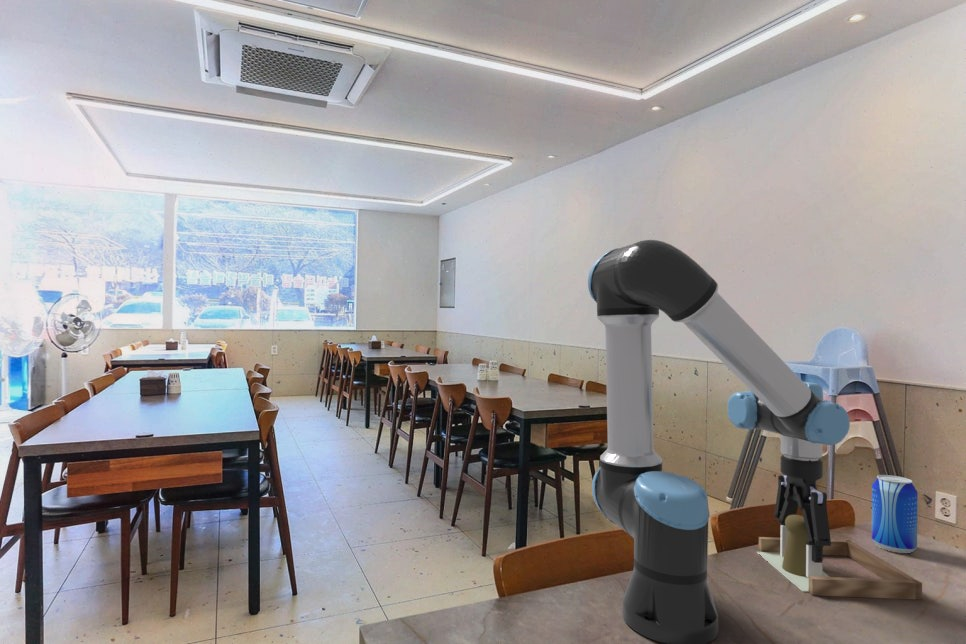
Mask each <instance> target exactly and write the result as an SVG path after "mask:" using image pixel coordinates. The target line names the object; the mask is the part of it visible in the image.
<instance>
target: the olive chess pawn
mask: <svg viewBox="0 0 966 644" xmlns="http://www.w3.org/2000/svg"><path fill="white" fill-rule="evenodd" d="M785 526H786V528H787V530H788V534H787V540H786V546H785V552H784V558H783V565H782V568H783V569H784V570H785V571H787V572H789V573H791V574H794V575H798V576H804V577H807V576H806V542H808V541H809V539H808V534H807V530H806V526H805V522H804V517H803V515H801V514H800V515H799V514H796V515H789V516H787V518H786V520H785Z"/></svg>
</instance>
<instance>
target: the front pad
mask: <svg viewBox="0 0 966 644" xmlns="http://www.w3.org/2000/svg"><path fill="white" fill-rule="evenodd" d="M756 553H757V554H758V555H759V554H760V555H761V556H762V557H761V556H760V555H759V556H760V557H761V558H763V559H764V561H766V562H767V561H768V562H767V563H768V564H770V565H771V566H772V567H773V568H774V569H775V570H777V571H778V572H779V573H780V574H781V575H783V576H784V577H785V578H786V579H787V580H788V581H790V582H791V583H792V584H793V585H794V586H796V587H797V588H798V589H799V590H800V591H801V592H803V593H805V592H806V593H809V578H808V577H804V576H798V575H794V574H791V573H789V572H787V571H785V570H784V569H783V568H782V565H783V558H784V557H781V556H780V552H760V551H756ZM822 577H831V576H830V575H829V574H828V573H826V572H824V571H823V570H822Z"/></svg>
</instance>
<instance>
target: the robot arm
mask: <svg viewBox="0 0 966 644" xmlns="http://www.w3.org/2000/svg"><path fill="white" fill-rule="evenodd" d="M587 288H588V291H589V295H590V297H591V298H592V299H593V301H595V303H596V316H597V317H596V318H597V319H598V320H599V322H601V323H602V324H603V325H604V328H605V366H606V367H605V369H606V370H605V372H606V373H605V375H606V421H607V427H606V428H607V448H606V450H605V451H604V452H603V453H602V454H601V455H599V457H600V458H599V461H600V462H599V465H600V466H599V467H598V470H597V471H596V472H595V473H594V475H593V478H592V482H591V493H592V498H593V501H594V503H595V505H596V507H597V509H599V512H601V513H602V515H603V516H604V517H605V518H606V519H608V520H609V522H610V523H613V524H614V525H616V526H618V527H619V528H620V529H622V530H623V531H624V532H625V533H627V534H628V535H629V536H630V537H632V538H633V540H634V541H633V545H634V546H633V570H632V573H631V575H630V578H629V580H628V584H627V587H626V589H625V592H624V595H623V599H622V609H621V610H622V611H621V612H622V613H621V614H622V618H623V620H624V622H625V624H627V625H628V626H629V628H631V629H632V630H634V631H635V632H637V634H640V635H641V636H643V637H646V638H648V639H650V640H653V641H656V642H659V643H662V644H708V643H710V642H712V641H715V639H716V638H717V637H718V636H719V635H718V634H719V614H718V611H717V608H716V605H715V602H714V599H713V595H712V591H711V589H710V586H709V582H708V557H709V556H708V555H709V553H708V552H709V550H708V549H709V548H708V547H709V519H710V509H709V508H710V507H709V498H708V494H707V492H706V490H705V488H704V487H703V486H702V485H701V484H700V483H698V482H697V481H696V480H694V479H691V477H687V476H684V475H678V474H677V473H674V472H668V471H663V458H662V457H661V456H660V455H659V454H658V453H657V452H656V451H655V449H654V415H653V414H654V408H653V405H654V404H653V403H654V402H653V401H654V400H653V368H652V367H653V362H652V361H653V359H652V356H653V355H652V353H653V352H652V324H653V323H654V322H655V321H656V320H657V319H658V318H659V317H660V311H661V312H663V313H664V314H665V315H666V316H668V318H669V319H670V320H671V321H672V322H674V323H683V324H684V325H685V327H687V328H688V329H689V330H690V331H691V332H692V333H693V334H694V335H695V336H696V337H697V338H698V340H700V341H701V342H702V343H703V344H704V345H705V346H706V347H707V348H708V349H709V350H710V352H712V353H713V355H715V356H716V357H717V358H718V359H719V360H720V361H721V362H722V363H723V364H724V365H725V366H726V368H728V370H730V371H731V372H732V373H733V375H735V377H736V378H737V379H739V381H741V382H742V383H743V384H744V385H745V387H747V389H749V390H746V391H736V392H734V393H733V394H731V395H730V397H729V398H728V401H727V410H726V411H727V412H726V413H727V416H728V419H729V421H730V423H731V424H732V425H733V426H735V427H736V428H737V429H741V430H749V431H750V430H751V431H752V430H762V431H766V432H770V433H775V434H779V435H780V453H781V454H782V455H781V456H780V468H779V469H780V473H781V474H782V475H778V476H777V481H778V482H777V485H778V487H777V494H776V500H775V507H774V513H773V515H774V518H775V519H778V524H779V525H780V537H779V538H780V556H781V557H784V552H785V546H786V540H787V534H788V530H787V528H786V526H785V520H786V518H787V516H789V515H797V512H798V509H800V510H801V511H802V516H803V517H804V522H805V526H806V530H807V534H808V539H809V541H808V542H806V576H807V577H808V578H809V576H817V577H822V571H823V558H824V557H823V546H831V540H832V539H831V533H830V525H829V523H830V522H829V516H828V508H827V502H828V501H827V499H828V495H827V492H823V491H821V492H820V491H819V490H818V487H817V480H820V479H822V478H823V477H824V476H823V475H824V473H823V471H824V470H823V468H824V466H823V460H822V459H821V458H822V457H823V446H833V445H837V444H840V443H841V442H842V441H843V440H844V439H846V436H847V435H848V433H849V431H850V426H851V425H850V424H851V423H850V422H851V421H850V417H849V414H848V412H847V410H846V409H845V408H844V407H843V406H842V405H841V404H839V403H835V402H832V401H830V400H827V399H826V400H825V399H824V392H823V391H824V390H823V386H822V385H820V383H816V382H811V381H804V380H802V379H801V378H800V377H799V376H798V375H797V373H796V372H794V371H793V370H792V369H791V367H789V365H787V364H786V362H785V361H784V360H783V359H782V358H781V357H780V356H779V355H778V354H777V353H776V352H775V351H774V350H773V349H772V348H771V347H770V345H768V344H767V342H765V340H764V339H762V337H761V336H760V335H759V334H758V333H757V332H756V331H755V330H754V329H753V328H752V327H751V326H750V325H749V324H748V323H747V322H746V321H745V319H743V318H742V316H740V314H738V313H737V312H736V310H735V309H733V307H731V305H730V304H729V303H728V302H727V301H726V300H725V299H724V297H722V296H721V295H720V294H719V293H718V290H719V284H718V282H717V281H716V280H715V279H714V278H713V277H712V276H711V275H710V274H709V273H708V272H707V271H706V270H705V269H704V268H703V267H702V266H701V265H700V264H698V262H696V261H695V260H694V259H693V258H691V256H689V255H688V254H686V253H685V252H683V251H682V250H681V249H679V248H678V247H675V246H674V245H672V244H670V243H668V242H665V241H661V240H656V239H646V240H645V239H644V240H640V241H637V242H635V243H632V244H629V245H626V246H622V247H619V248H617V247H616V248H614V249H612V250H610V251H608V252H606V253H604V254H602V255H601V256H600V257H599V258H598V259H596V261H595V262H594V263H593V265H592V266H591V268H590V270H589V272H588V277H587Z"/></svg>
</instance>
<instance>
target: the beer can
mask: <svg viewBox="0 0 966 644" xmlns="http://www.w3.org/2000/svg"><path fill="white" fill-rule="evenodd" d="M918 496H919V495H918V491H917V489H916V487H915V486H914V485H913V480H912V479H909V478H906V477H903V476H897V475H892V474H891V475H890V474H889V475H888V474H879V475H878V474H877V476H876V479H875V481H874V482H873V483H872V484H871V540H872V541H873V542H874V543H875V546H876V547H877V546H878V548H879V549H881V548H882V550H884V549H885V550H884V551H887V550H888V551H887V552H890V551H893V552H892V553H894V552H899V553H898V554H900V553H911V552H913V553H914V551H915V550H916V549H918V502H919V501H918V500H919V499H918ZM911 554H912V553H911Z"/></svg>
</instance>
